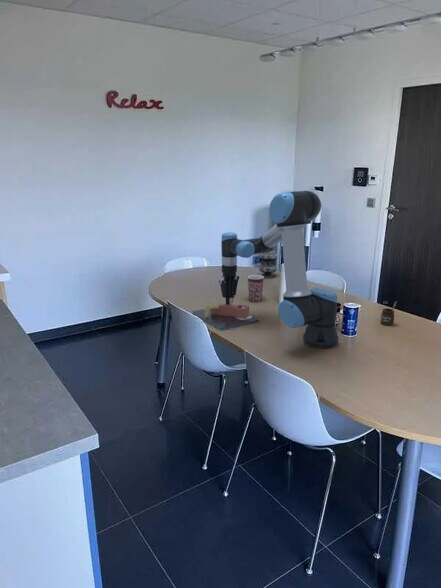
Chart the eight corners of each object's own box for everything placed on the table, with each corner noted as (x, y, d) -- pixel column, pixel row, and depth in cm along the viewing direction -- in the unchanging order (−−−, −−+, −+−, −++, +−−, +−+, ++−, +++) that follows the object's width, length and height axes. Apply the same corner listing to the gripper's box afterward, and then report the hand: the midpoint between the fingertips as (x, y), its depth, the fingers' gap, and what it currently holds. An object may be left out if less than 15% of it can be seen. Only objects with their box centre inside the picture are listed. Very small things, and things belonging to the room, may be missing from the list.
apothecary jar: (277, 279, 297) (278, 251, 292) (259, 279, 298) (259, 252, 292) (275, 274, 309) (276, 248, 304) (258, 274, 309) (258, 248, 304)
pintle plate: (260, 321, 222) (260, 319, 222) (220, 330, 211) (220, 328, 211) (229, 306, 245) (229, 303, 245) (192, 313, 234) (192, 311, 234)
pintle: (246, 316, 226) (246, 307, 225) (242, 317, 225) (242, 308, 223) (244, 315, 228) (244, 306, 226) (240, 316, 227) (240, 306, 225)
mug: (259, 303, 249) (260, 279, 245) (244, 301, 253) (244, 277, 249) (268, 297, 260) (268, 274, 256) (253, 295, 264) (254, 272, 260)
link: (210, 314, 229) (209, 305, 227) (214, 311, 234) (213, 302, 232) (245, 318, 222) (245, 309, 221) (249, 315, 227) (249, 305, 226)
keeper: (217, 317, 228) (217, 302, 226) (219, 321, 222) (218, 306, 220) (204, 318, 227) (204, 302, 225) (205, 322, 222) (205, 306, 219)
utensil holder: (383, 320, 223) (386, 297, 219) (396, 324, 218) (399, 300, 215) (377, 323, 219) (380, 300, 215) (390, 327, 214) (393, 303, 211)
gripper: (232, 261, 230) (232, 305, 237) (214, 265, 221) (214, 311, 228) (243, 263, 225) (243, 308, 232) (225, 268, 216) (225, 314, 223)
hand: (229, 309), depth 230 cm, fingers closed
